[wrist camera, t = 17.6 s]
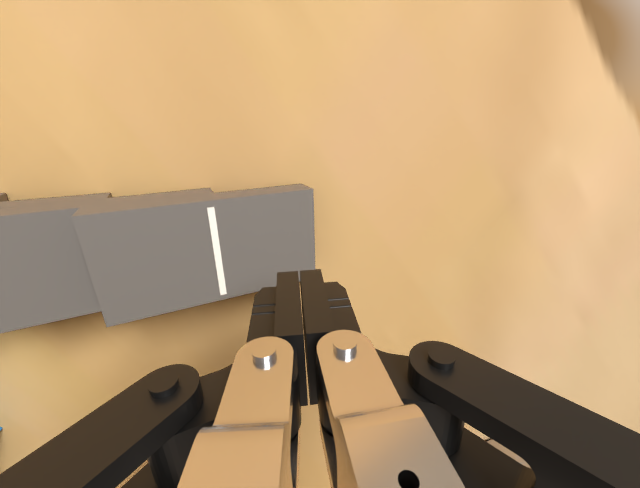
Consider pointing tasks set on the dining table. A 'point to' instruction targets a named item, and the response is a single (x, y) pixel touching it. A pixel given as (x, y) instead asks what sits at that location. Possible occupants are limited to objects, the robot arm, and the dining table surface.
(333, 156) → the dining table surface
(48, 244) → the tile
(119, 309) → the tile
